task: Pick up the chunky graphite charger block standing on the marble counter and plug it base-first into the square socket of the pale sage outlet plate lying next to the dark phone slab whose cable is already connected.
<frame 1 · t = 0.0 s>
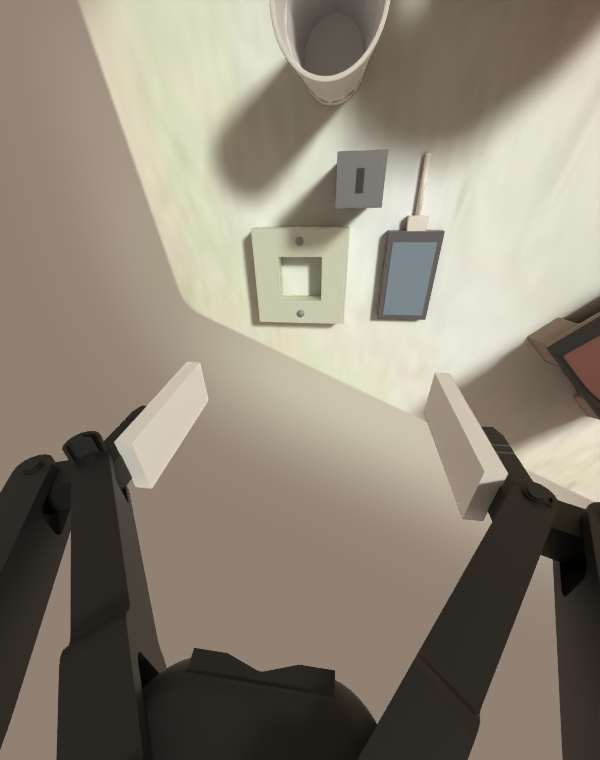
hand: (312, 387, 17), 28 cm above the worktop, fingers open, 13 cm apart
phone: (406, 276, 39), on the worktop
charger: (356, 182, 35), on the worktop
cup: (334, 64, 30), on the worktop
outlet plate: (302, 275, 41), on the worktop
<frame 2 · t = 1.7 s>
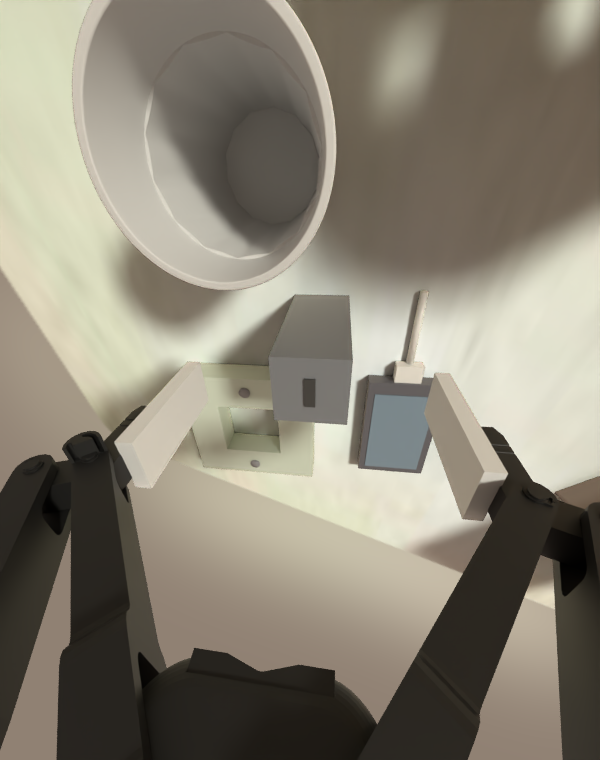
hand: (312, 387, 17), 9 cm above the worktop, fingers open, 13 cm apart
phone: (395, 423, 29), on the worktop
charger: (321, 320, 24), on the worktop
cup: (277, 171, 19), on the worktop
outlet plate: (256, 414, 31), on the worktop
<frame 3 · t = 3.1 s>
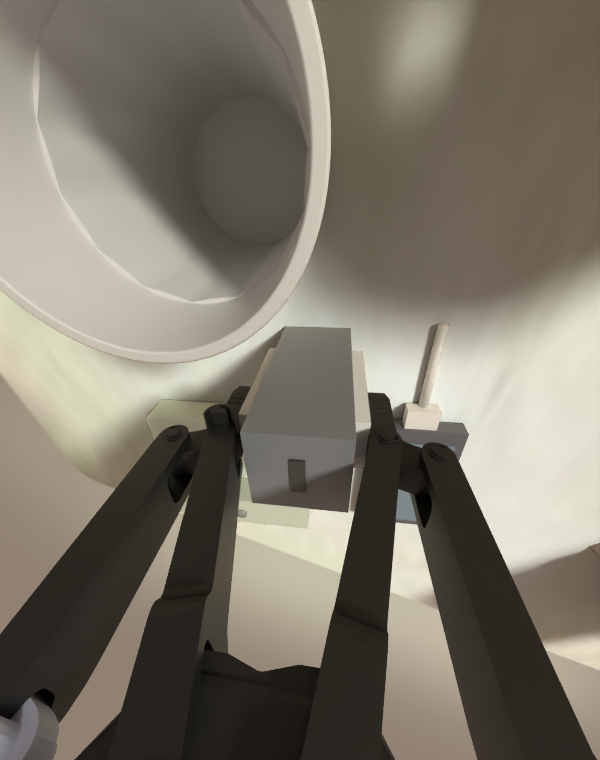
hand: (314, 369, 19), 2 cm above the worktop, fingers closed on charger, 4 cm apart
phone: (404, 470, 25), on the worktop
charger: (316, 356, 20), on the worktop, touching gripper
cup: (261, 179, 15), on the worktop
outlet plate: (243, 457, 26), on the worktop
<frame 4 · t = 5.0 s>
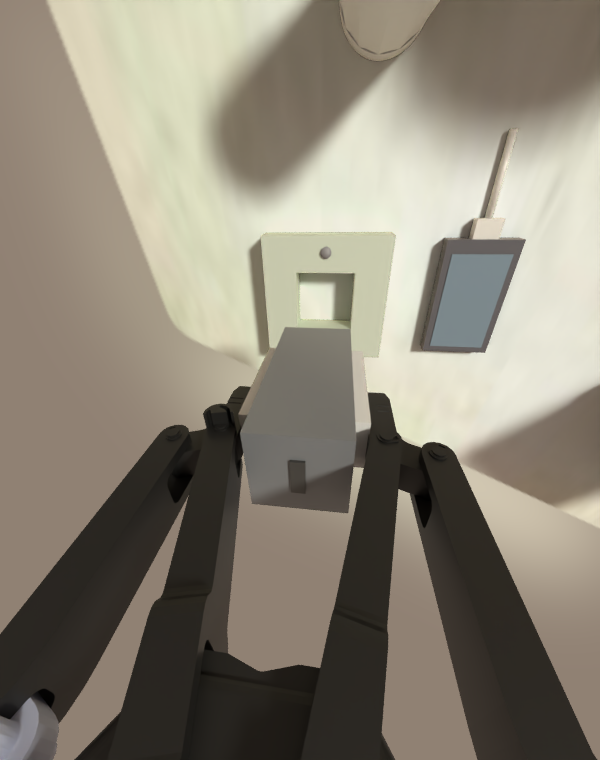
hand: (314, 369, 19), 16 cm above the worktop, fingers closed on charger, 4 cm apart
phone: (464, 297, 30), on the worktop
charger: (316, 357, 20), point 14 cm above the worktop, touching gripper
outlet plate: (325, 294, 32), on the worktop
when the fingers open (3 cm above the worktop, at t = 6.9 s): charger drops 2 cm, resting in outlet plate.
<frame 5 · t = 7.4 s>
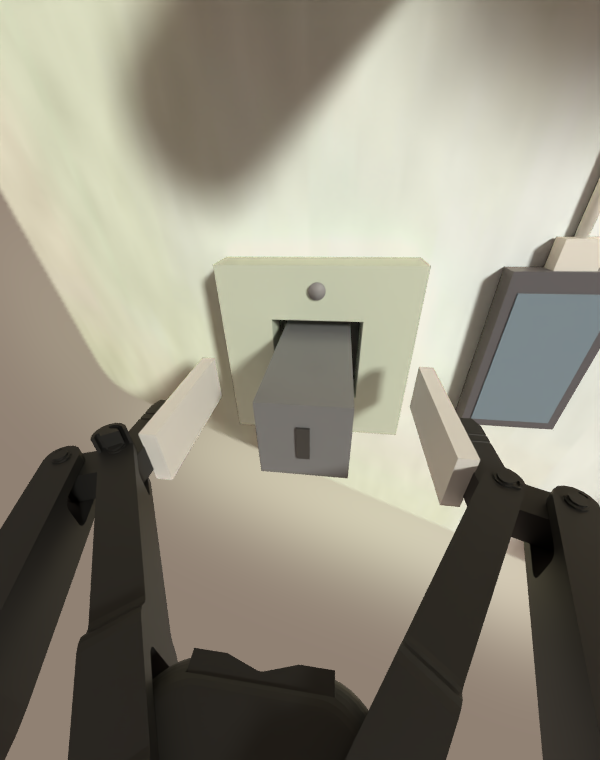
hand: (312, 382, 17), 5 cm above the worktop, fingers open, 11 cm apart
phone: (526, 352, 20), on the worktop
charger: (318, 345, 22), resting in outlet plate
outlet plate: (318, 345, 22), on the worktop
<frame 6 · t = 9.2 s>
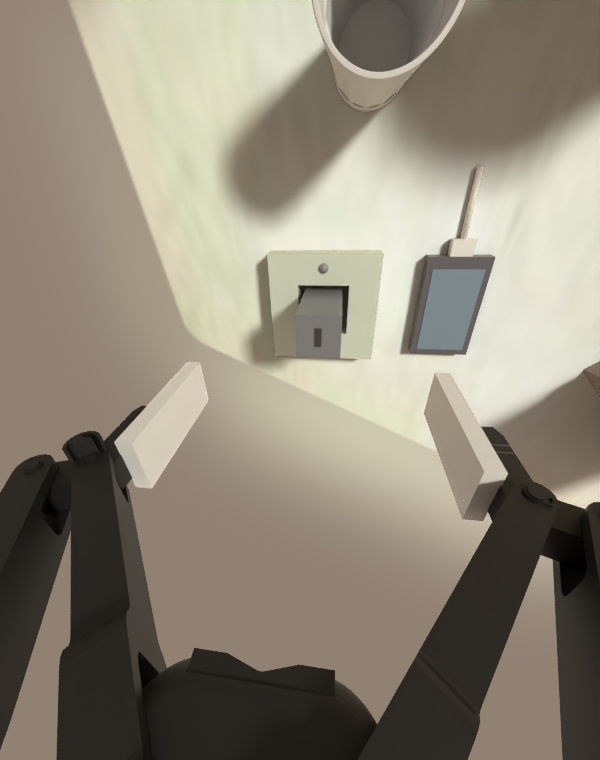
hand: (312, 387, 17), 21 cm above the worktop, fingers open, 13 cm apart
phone: (445, 306, 34), on the worktop
charger: (324, 304, 36), resting in outlet plate
cup: (371, 61, 25), on the worktop
outlet plate: (323, 304, 36), on the worktop
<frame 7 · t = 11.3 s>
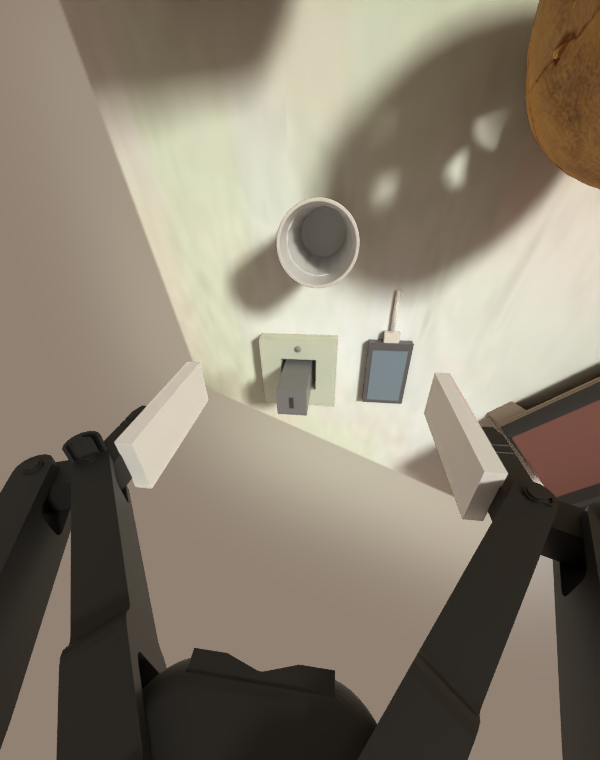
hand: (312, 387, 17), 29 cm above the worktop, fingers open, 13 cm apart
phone: (385, 371, 48), on the worktop
charger: (300, 367, 50), resting in outlet plate
cup: (324, 231, 38), on the worktop
outlet plate: (300, 367, 50), on the worktop
bowl: (579, 66, 28), on the worktop
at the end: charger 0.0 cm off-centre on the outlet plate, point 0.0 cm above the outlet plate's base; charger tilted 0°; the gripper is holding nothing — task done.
